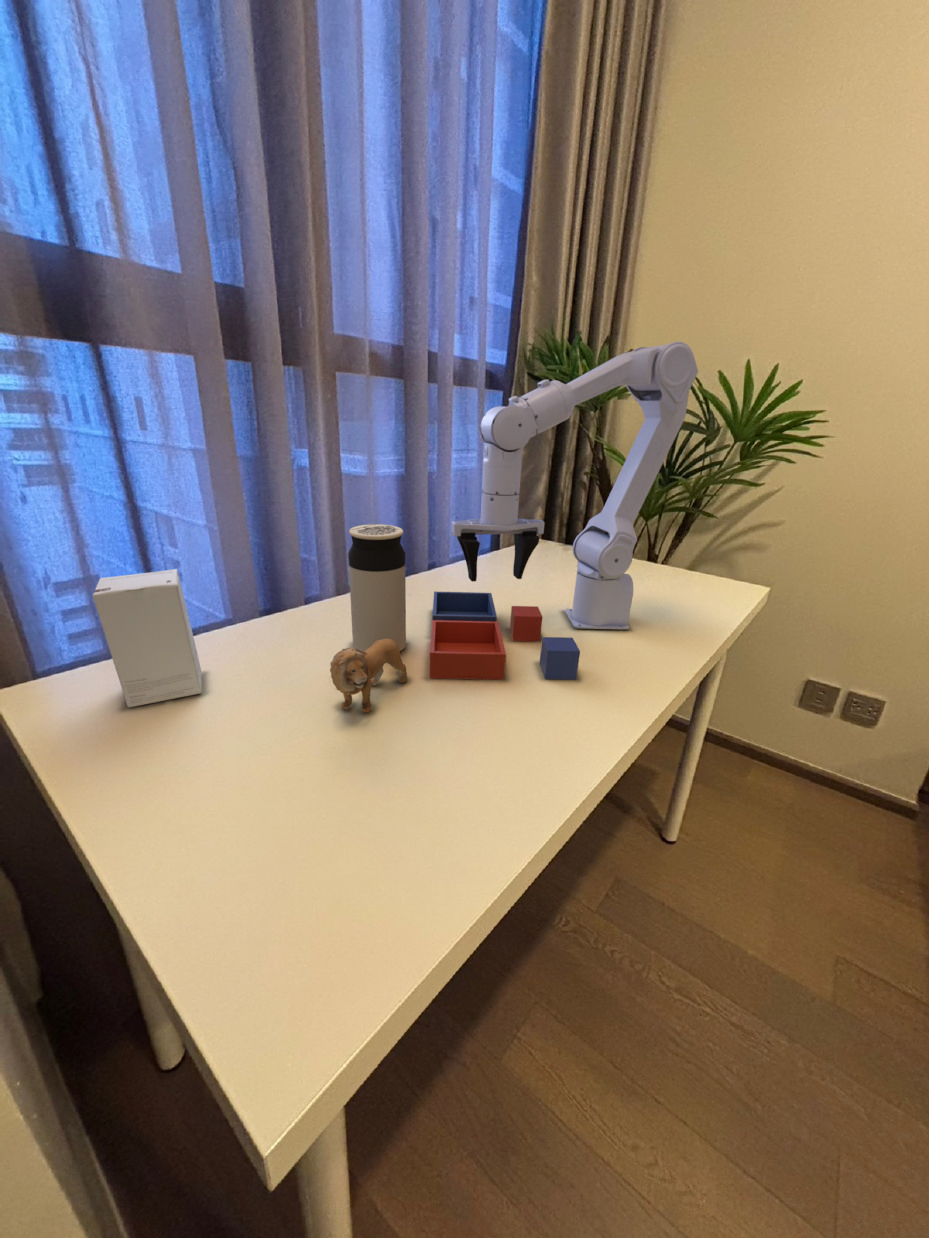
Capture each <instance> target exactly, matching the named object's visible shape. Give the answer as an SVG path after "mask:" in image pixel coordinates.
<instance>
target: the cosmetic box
mask: <svg viewBox="0 0 929 1238" xmlns="http://www.w3.org/2000/svg"><path fill="white" fill-rule="evenodd" d="M92 599H93V603H94V606H95V609H96V611H97V615H98V618H99V621H100V623H101V627H102V630H103V634H104V636H105V637H104V638H105V641H106V644H107V646H108V649H109V653H110V656H111V658H112V662H113V665H114V668H115V671H116V674H117V678H118V681H119V684H120V687H121V691H122V693H123V697H124V699H125V703H126V705H127V706H126V707H127V708H134V707H138V706H143V705H149V704H153V703H158V702H163V701H168V700H173V699H179V698H183V697H190V696H194V695H200V694H202V692H203V691H202V689H203V688H202V687H203V686H202V685H203V683H202V682H203V681H202V679H203V678H202V667H201V663H200V659H199V658H200V657H199V655H198V650H197V646H196V642H195V637H194V634H193V630H192V625H191V621H190V617H189V612H188V608H187V604H186V599H185V595H184V591H183V586H182V583H181V579H180V574H179V571H178V569H177V568H174V569H167V570H166V569H165V570H158V571H150V572H142V573H134V574H125V575H117V576H116V575H115V576H107V577H100V578H99V580H98V582H97V585H96V587H95V589H94V592H93V594H92Z"/></svg>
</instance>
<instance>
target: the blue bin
mask: <svg viewBox="0 0 929 1238" xmlns="http://www.w3.org/2000/svg"><path fill="white" fill-rule="evenodd" d="M431 615H432V617H431V621H432V620H447V621H491V622H498V615H497V611H496V607H495V602H494V598H493V594H492V592H473V591H471V592H470V591H437V590H436V591H433V602H432V614H431Z"/></svg>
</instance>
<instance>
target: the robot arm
mask: <svg viewBox="0 0 929 1238" xmlns="http://www.w3.org/2000/svg"><path fill="white" fill-rule="evenodd" d="M698 369H699V368H698V366H697V362H696V359H695V355H694V352H693V350H692V348H691V347H690V345H688V344H687V343H685V342H683V341H673V342H670V343H667V344H662V345H660V344H659V345H654V346H648V347H647V346H642V347H641V346H640V347H637V348H634V349H633V350H632V351H627V352H624V353H621V354H619V355H617V356H615V357H612V358H611V359H609V360H607V361H605V362H603V363H602V364H600V365H598V366H597V367H594V368H593V369H590V370H589V371H587V372H585V373H584V374H582V375H580V376H578V377H577V378H574V379H573V380H571V381H569V382H568V383H563V382H561V381H559V380H556V379H553V380H549V379H543V380H541V381H538V382H537V387H536V388H535V389H533V390H531V391H529V392H527V393H525V394H523V395H521V396H518V395H513V396H512V397H509V398H508V404H507V405H506V406H502V405H501V406H494V407H491V408H490V409H489V410H487V411H486V413H485V415H483V417H482V418H481V419H482V420H481V423H480V425H479V426H478V433H479V437H480V439H481V440H482V442H483V460H482V477H481V497H480V499H481V500H480V518H475V519H473V518H472V519H465V520H452V521H451V528H450V529H451V531H450V532H451V533H450V534H452V536H453V537H456V539H457V541H458V543H459V545H460V548H461V550H462V553H463V557H464V559H465V563H466V567H467V575H468V579H469V581H470V582H473V583H474V582H477V578H478V558H479V557H478V555H479V549H480V546H481V543H480V541H479V540H478V537H477V536H480V535H482V536H483V535H513V539H514V541H513V542H514V559H513V568H512V572H513V573H512V574H513V577H515V578H516V579H517V580H522V578H523V575H524V573H525V572H524V571H525V569H526V566H527V564H528V562H529V559H530V557H531V555H532V554H533V552H534V550H535V549H536V547H538V545H539V543H540V536H539V535H544V533H545V532H544V531H545V521H544V520H542V519H540V518H539V519H532V518H518V517H519V505H520V492H521V491H520V490H521V478H522V467H523V466H522V465H523V462H522V461H523V451H524V448H525V446H526V445H527V444H528V442H529V441H530V439H531V438H533V437H536V436H537V435H539V434H541V433H543V432H545V431H547V430H549V429H551V428H553V427H555V426H557V425H559V424H561V423H563V422H566V421H567V420H568V419H570V418H571V416H572V413H573V411H574V408H575V406H577V405H580V404H582V403H584V402H587V401H588V400H590V399H593V398H595V397H597V396H599V395H602V394H604V393H606V392H608V391H611V390H613V389H615V388H617V387H626V389H627V390H628V391H629V392H630V394H631V396H632V397H633V398H634V399H635V401H636V402H637V404H638V405H639V406H640V408H641V411H642V414H643V417H644V420H643V422H642V425H641V426H640V429H639V431H638V433H637V435H636V438H635V440H634V441H633V444H632V446H631V448H630V450H629V452H628V455H627V456H626V459H625V461H624V462H623V465H622V467H621V470H620V472H619V474H618V475H617V478H616V480H615V482H614V484H613V487H612V489H611V490H610V493H609V495H608V497H607V498H606V499H607V500H606V502H605V504H604V506H603V508H602V510H601V511H600V512H599V513H597V514H596V515H594V516H593V517H591V518H590V519H589V520H588V522H587V524H586V526H585V528H584V529H583V530H582V531H580V532H579V534H578V535H576V537H575V539H574V541H573V544H572V555H573V557H574V558H575V559H576V561H577V564H576V568H577V569H576V577H575V583H574V584H575V586H574V592H573V600H572V607H571V608H566V609H565V610H564V612H565V615H566V616H567V618H568V620H569V621H570V624H572V626H573V628H574V629H585V630H629V629H630V626H629V621H630V614H631V610H632V609H631V608H632V603H633V599H634V598H633V597H634V580H633V577H632V576H631V574H629V573H626V572H627V571H628V570H629V568H630V567H631V565H632V562H633V554H634V553H633V552H634V548H635V546H636V544H637V542H638V537H637V534H636V531H635V527H634V523H635V521H636V519H637V517H638V515H639V513H640V511H641V509H642V507H643V505H644V503H645V501H646V498H647V496H648V495H649V492H650V490H651V489H652V487H653V484H654V483H655V480H656V478H657V476H658V474H659V472H660V470H661V469H662V466H663V464H664V462H665V460H666V458H667V455H668V454H669V452H670V449H671V447H672V446H673V444H674V441H675V439H676V437H677V435H678V433H679V431H680V429H681V427H682V425H683V423H684V421H685V418H686V415H687V409H688V402H689V396H690V395H689V394H690V390H691V387H692V386H693V384H694V381H695V379H696V378H697V375H698V373H699V370H698Z"/></svg>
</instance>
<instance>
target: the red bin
mask: <svg viewBox="0 0 929 1238" xmlns="http://www.w3.org/2000/svg"><path fill="white" fill-rule="evenodd" d="M429 643H430V645H429V679H440V680H441V679H443V680H448V679H449V680H500V681H501V680H502V681H503V680H505V674H506V673H505V671H506V659H507V653H506V648H505V644H504V640H503V637H502V632H501V628H500V624H499V621H497V622H491V621H447V620H432V619H431V629H430V642H429Z"/></svg>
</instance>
